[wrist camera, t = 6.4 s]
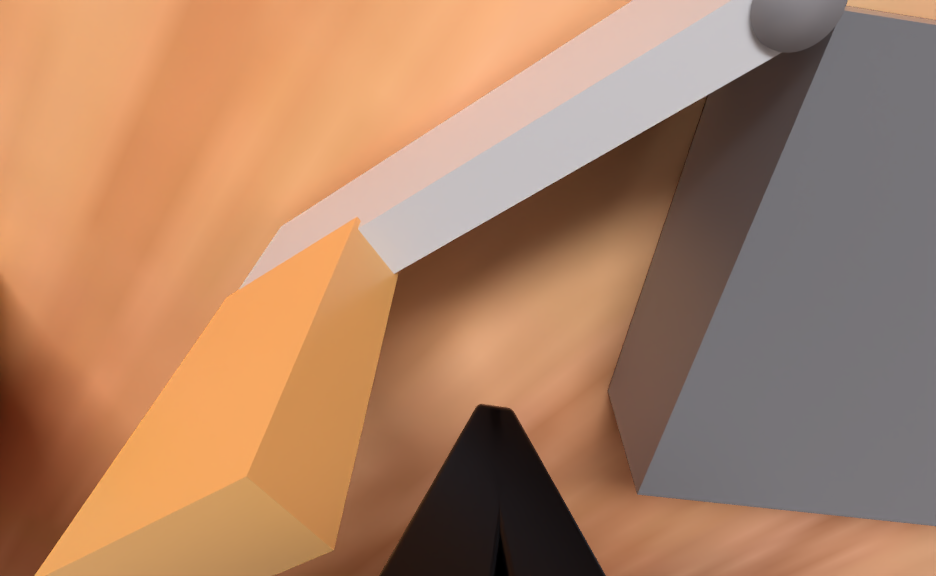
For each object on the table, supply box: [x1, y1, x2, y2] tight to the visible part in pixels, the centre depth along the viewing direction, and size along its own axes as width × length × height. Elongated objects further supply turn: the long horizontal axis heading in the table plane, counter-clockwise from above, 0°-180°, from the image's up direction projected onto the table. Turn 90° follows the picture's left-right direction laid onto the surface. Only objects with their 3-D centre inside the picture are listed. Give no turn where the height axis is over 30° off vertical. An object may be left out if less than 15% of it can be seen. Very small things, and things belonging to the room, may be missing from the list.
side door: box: [35, 0, 847, 576], centre depth 9 cm, size 1×11×9 cm, turn 122°
